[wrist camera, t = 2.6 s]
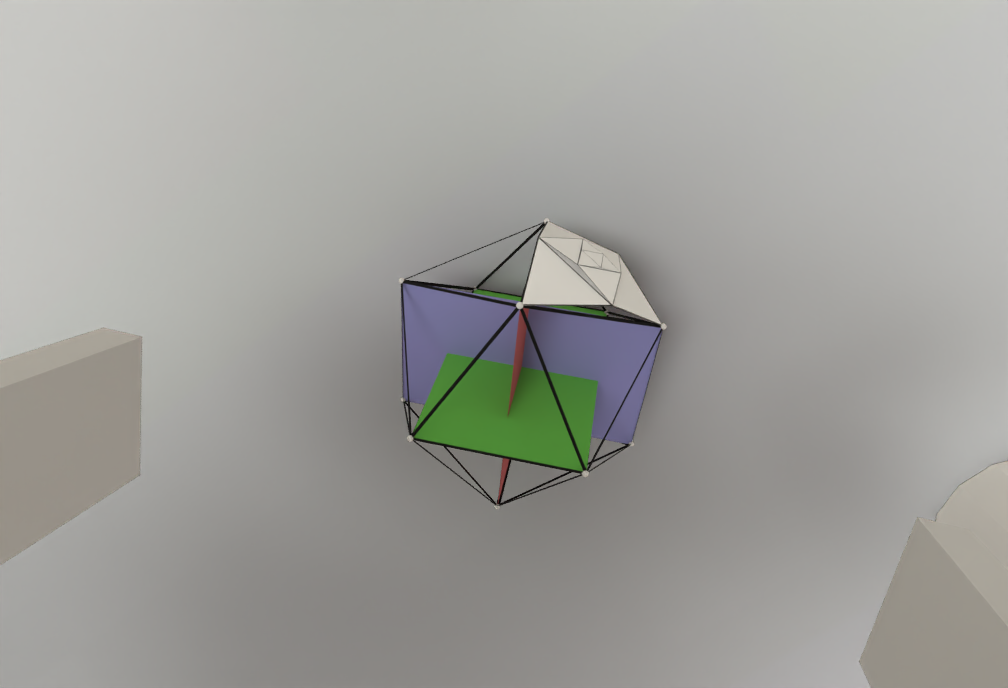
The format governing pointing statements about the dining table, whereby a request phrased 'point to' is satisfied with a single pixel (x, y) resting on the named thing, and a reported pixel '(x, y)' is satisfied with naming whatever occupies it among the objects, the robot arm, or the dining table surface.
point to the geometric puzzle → (531, 359)
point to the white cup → (982, 509)
